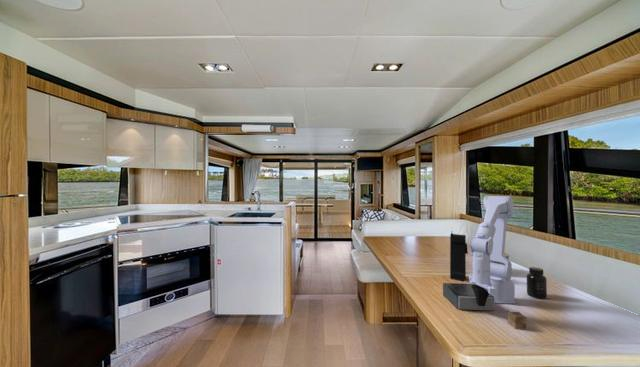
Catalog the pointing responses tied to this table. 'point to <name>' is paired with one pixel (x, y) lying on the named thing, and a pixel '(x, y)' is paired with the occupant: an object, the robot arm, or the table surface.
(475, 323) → the table surface
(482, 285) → the robot arm
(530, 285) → the supplement bottle
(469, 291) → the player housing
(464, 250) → the portable radio
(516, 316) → the walnut block
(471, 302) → the tray
